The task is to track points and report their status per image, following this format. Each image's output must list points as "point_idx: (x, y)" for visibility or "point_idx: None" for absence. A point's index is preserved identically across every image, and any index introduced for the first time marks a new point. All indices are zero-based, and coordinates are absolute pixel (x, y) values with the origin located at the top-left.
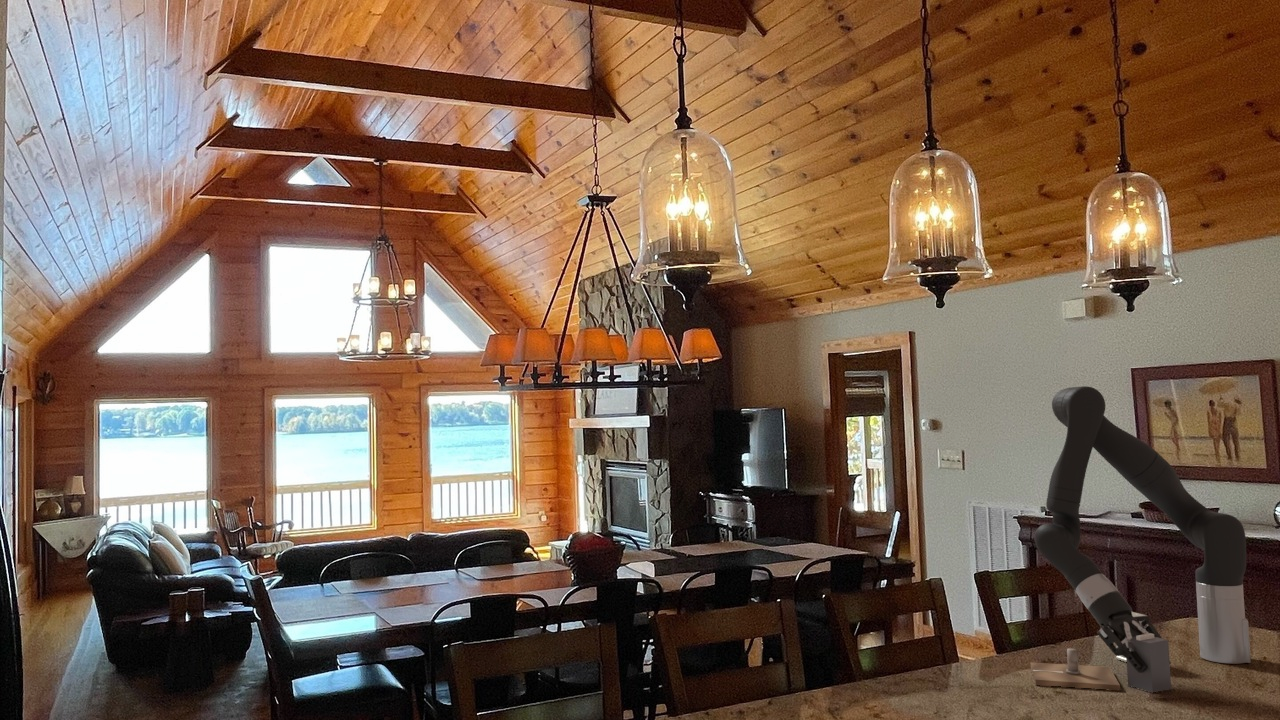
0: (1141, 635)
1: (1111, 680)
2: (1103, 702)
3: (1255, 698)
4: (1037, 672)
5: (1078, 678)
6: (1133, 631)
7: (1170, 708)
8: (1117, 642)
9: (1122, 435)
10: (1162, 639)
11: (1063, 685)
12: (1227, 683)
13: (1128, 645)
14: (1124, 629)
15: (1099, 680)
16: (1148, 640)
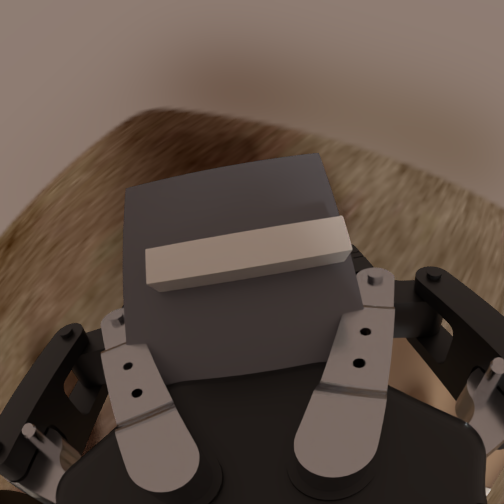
0: (296, 242)
1: None
2: (469, 237)
3: (94, 161)
4: (492, 476)
5: (451, 413)
6: (236, 412)
7: (344, 148)
8: (468, 290)
9: None
10: (148, 205)
11: None
12: (37, 270)
13: (389, 289)
14: (387, 385)
15: (412, 380)
16: (267, 211)
